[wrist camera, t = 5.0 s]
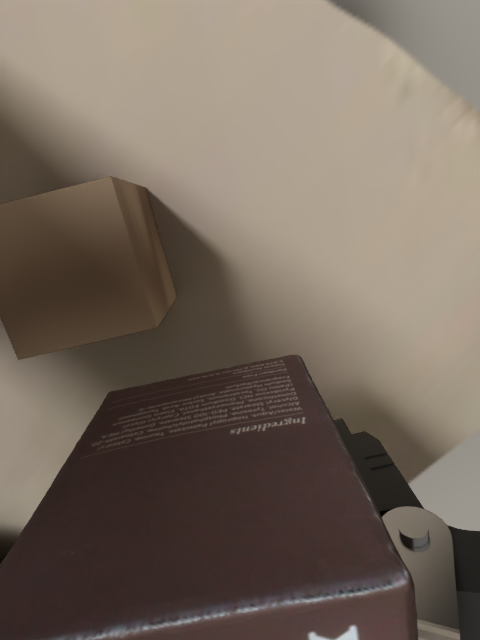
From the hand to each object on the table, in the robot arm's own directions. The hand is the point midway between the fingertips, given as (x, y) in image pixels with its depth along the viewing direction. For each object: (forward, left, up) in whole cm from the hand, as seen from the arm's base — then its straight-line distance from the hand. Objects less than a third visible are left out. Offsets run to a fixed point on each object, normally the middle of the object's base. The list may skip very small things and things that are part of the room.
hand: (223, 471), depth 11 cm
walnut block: (-7, -4, -8) cm, 11 cm away
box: (0, 0, -1) cm, 1 cm away
